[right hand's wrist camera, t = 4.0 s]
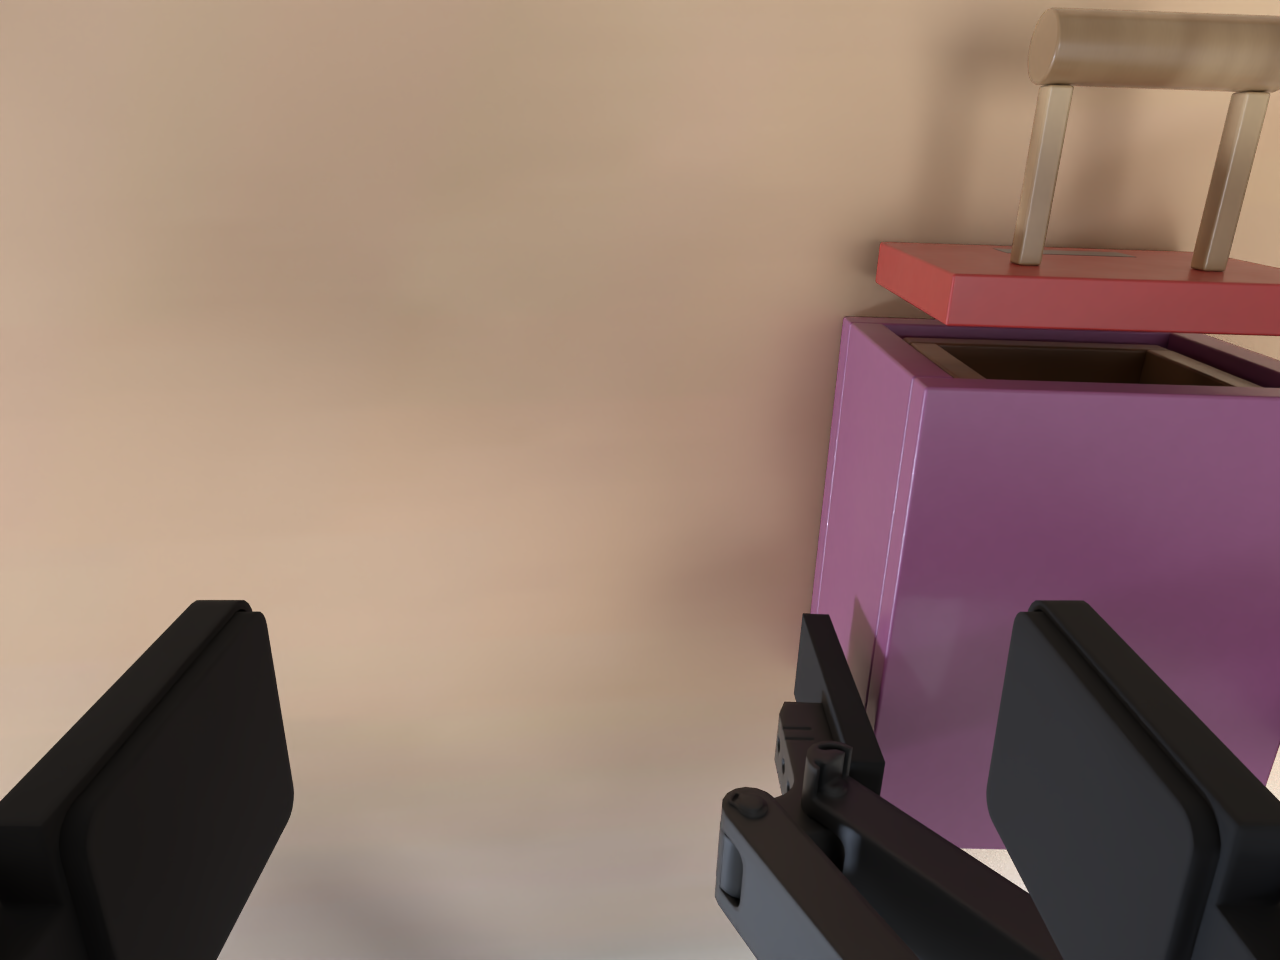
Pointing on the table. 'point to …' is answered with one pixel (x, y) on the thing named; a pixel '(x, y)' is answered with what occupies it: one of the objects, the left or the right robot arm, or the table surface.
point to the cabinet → (1044, 543)
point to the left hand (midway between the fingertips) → (1042, 660)
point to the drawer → (1107, 278)
